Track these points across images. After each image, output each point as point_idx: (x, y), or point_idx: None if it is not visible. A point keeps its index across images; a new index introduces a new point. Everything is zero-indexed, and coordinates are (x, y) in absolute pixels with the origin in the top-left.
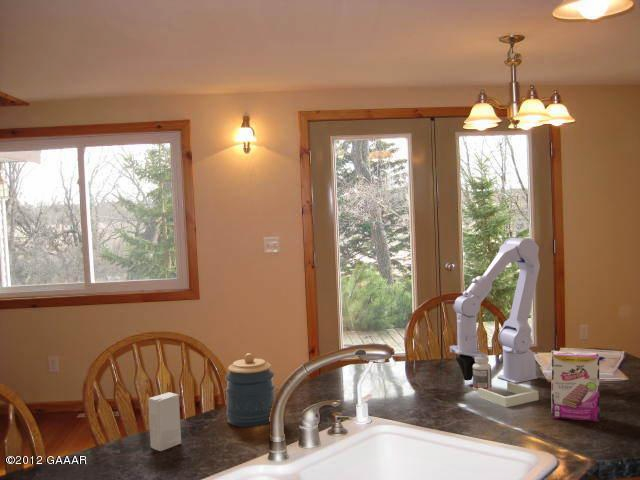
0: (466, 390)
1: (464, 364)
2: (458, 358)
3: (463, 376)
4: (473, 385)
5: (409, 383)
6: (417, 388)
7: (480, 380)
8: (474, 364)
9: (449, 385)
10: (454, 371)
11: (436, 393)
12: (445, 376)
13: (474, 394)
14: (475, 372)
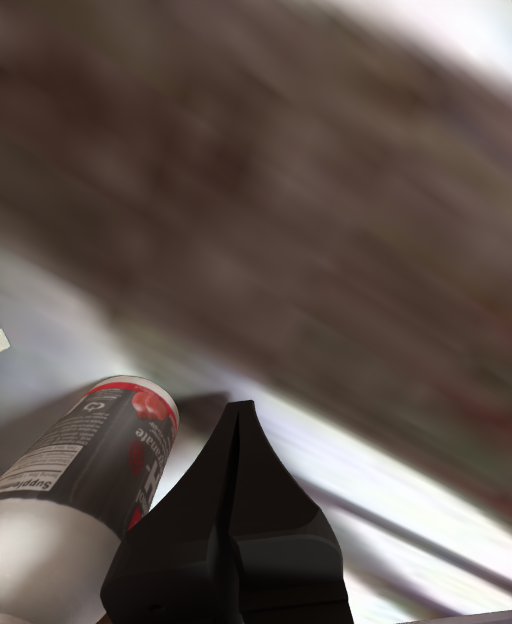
0: (142, 337)
1: (191, 495)
2: (255, 537)
3: (250, 410)
4: (127, 388)
5: (460, 58)
6: (313, 44)
7: (43, 435)
8: (17, 557)
9: (270, 304)
10: (470, 448)
11: (139, 123)
12: (430, 372)
13: (57, 337)
14: (24, 468)
